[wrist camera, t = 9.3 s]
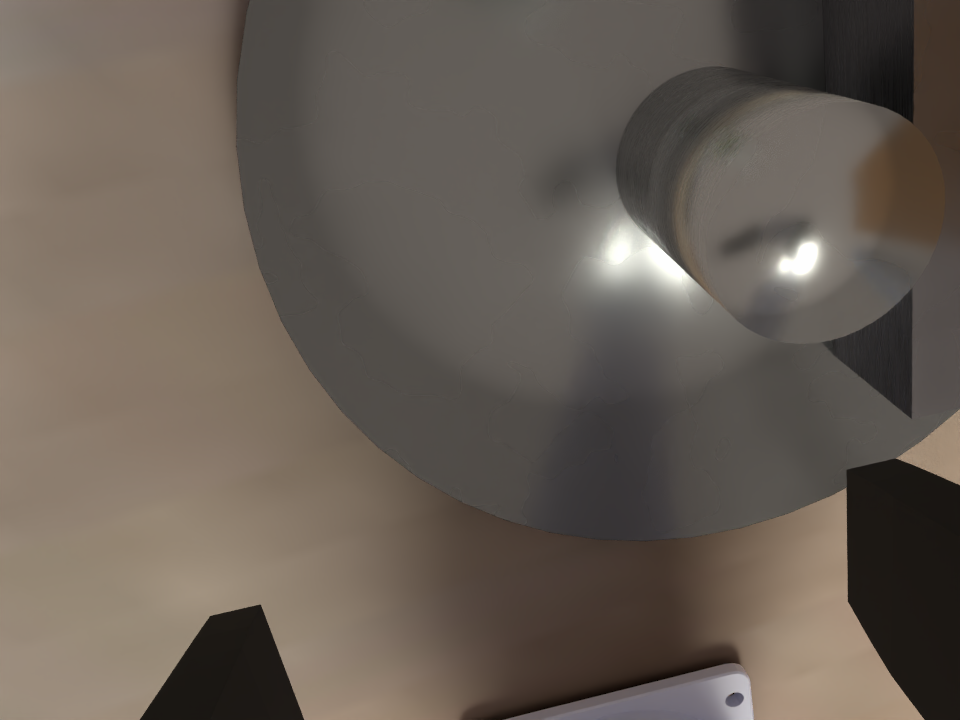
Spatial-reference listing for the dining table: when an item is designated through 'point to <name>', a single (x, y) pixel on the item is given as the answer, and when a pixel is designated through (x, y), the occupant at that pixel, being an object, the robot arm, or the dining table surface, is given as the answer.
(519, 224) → the rosette joint
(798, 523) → the dining table surface
